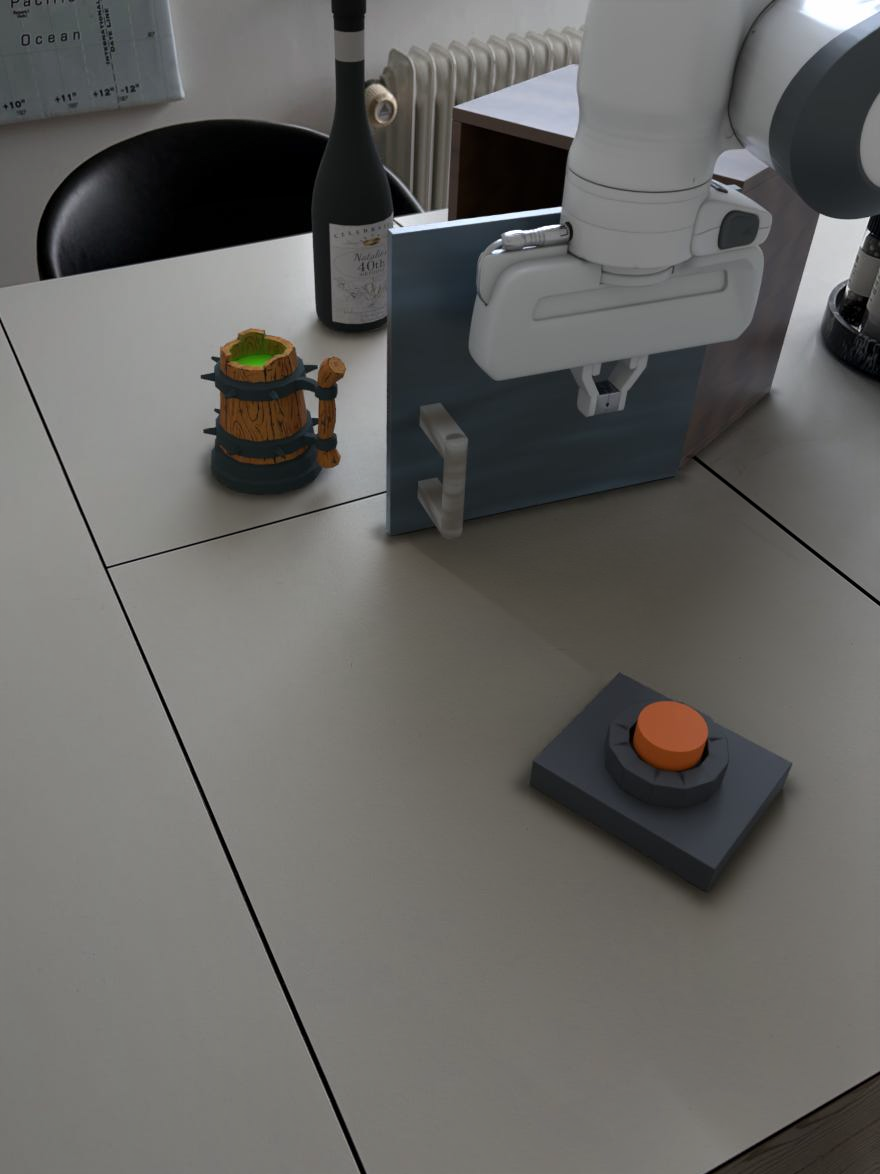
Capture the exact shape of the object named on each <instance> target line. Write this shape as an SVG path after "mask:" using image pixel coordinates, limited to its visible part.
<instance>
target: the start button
mask: <svg viewBox="0 0 880 1174" xmlns="http://www.w3.org/2000/svg"><path fill="white" fill-rule="evenodd" d="M677 702H678V701H677ZM677 702H672V701H661V702H655V703H652V704H650V705H648V706H647V707H645V708H644V709H643V710H642V711H641V713H640V715H639V717H638V721H637V725H636V729H635V733H634V737H633V745H634V748H635V750H636V752H637V754H638V755H639V757H640V758H641V759H642V760H643V761H645V762H646V763H647V764H649V765H651V766H653V767H655V768H657V769H660V770H665V771H672V772H679V771H684V770H687V769H690V768H692V767H693V766H695V765H696V764H697V763H698V762H699V760H700V758H701V756H702V753H703V750H704V746H705V743H706V740H707V737H708V727H707V724H706V722H705V720H704V719H703V717H702V716H701V715H700V714H699V713H698V712H696V711H695V710H694V709H695V708H694V709H692V708H690V707H688V706H686V705H684V704H681V703H677Z"/></svg>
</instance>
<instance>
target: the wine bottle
mask: <svg viewBox="0 0 880 1174" xmlns="http://www.w3.org/2000/svg"><path fill="white" fill-rule="evenodd" d="M330 1H331V3H330V9H331V14H332V19H333V40H334V41H333V43H334V46H333V47H334V73H335V75H334V76H335V77H334V78H335V106H334V115H333V120H332V126H331V129H330V132H329V136H328V138H327V139H328V140H327V143H326V147H325V148H324V152H323V154H322V157H321V160H320V164H319V166H318V170H317V172H316V177H315V180H314V185H313V190H312V199H311V209H310V210H311V211H310V213H311V214H310V215H311V237H312V256H313V257H312V258H313V279H314V280H313V281H314V302H315V312H316V316H317V319H318V321H320V322H321V323H322V324H323V326H325V327H327V328H328V329H330V330H333V331H336V332H339V333H345V334H362V333H363V334H364V333H367V332H368V333H370V332H372V331H375V330H379V329H380V328H382V327H383V326H385V325H386V324H387V230H388V229H392V228H394V205H393V204H394V203H393V197H392V191H391V186H390V182H389V179H388V175H387V172H386V170H385V167H384V164H383V161H382V159H381V156H380V153H379V151H378V147H377V145H376V142H375V138H374V137H373V133H372V130H371V126H370V123H369V118H368V112H367V106H366V85H365V84H366V81H365V80H366V79H365V77H366V74H365V73H366V72H365V71H366V68H365V66H366V65H365V64H366V61H365V56H366V55H365V53H366V52H365V44H366V42H365V40H366V39H365V28H366V27H365V23H366V22H365V19H366V15H365V14H367V0H330Z"/></svg>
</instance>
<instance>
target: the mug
mask: <svg viewBox="0 0 880 1174" xmlns="http://www.w3.org/2000/svg"><path fill="white" fill-rule="evenodd" d="M210 360H212V361H213V362H215V365H214V366H213V372H210V373H204V374H200V380H205V381H210V382H214V387H215V388H216V389H217V390H218V391H219V408H216V407H215V408H214V409H213V412H214V413H216V414H218V415H217V417H216V418H215V426H213V427H209V428H204V429H202V433H203V434H207V435H212V436H215V439H214V447H213V448H212V449H211V452H210V453H211V455H210V466H211V472H212V473H213V475H214V476H215V478H216V479H217V481H218V482H219V483H220V484H222V485H224V486H226V487H228V488H230V489H232V490H233V491H236V492H239V493H241V492H242V493H246V494H251V495H252V494H253V495H256V496H257V495H279V494H283V493H287V492H291V491H293V490H297V489H300V488H302V487H303V486H305V485H308V483H310V482H312V481H313V480H315V479H316V478H317V476H319V473H320V472H321V470H322V469H330V468H335V467H337V466H339V464H340V462H341V459H342V456H341V454H340V452H339V450H338V449H337V447H338V443H339V442H338V436H337V433H335V428H336V423H337V405H336V403H337V402H336V399H337V397H338V393H339V390H338V389H339V388H338V387H339V386H338V382H339V381H340V380H342V379H344V377H345V375H346V371H347V367H346V364H345V362H344V361H343V360H342V359H341V358H339V357H337V356H334V355H333V356H329V357H325V358H324V359H323V360H322V362H321V363H320V366H319V365H318V364H305V363H304V360H303V359H302V358H301V357H300V356H299V355H298V354H297V350H296V346H295V345H294V344H293V343H292V342H291V341H290V340H288V339H287V338H282V337H281V336H277V335H270V334H266V331H265V329H259V328H253V327H252V328H251V327H250V328H248V329H245V330H243V331H240V332H238V333H237V338H235V339H232V340H231V341H228V342H226V343H225V344H224V345H220V346H219V356H214V355H211V357H210ZM316 370H318V372H317V380H315V379H314V378H311V377H307V374H308V373H312V372H313V371H316ZM304 391H308V392H311V393H313V394H314V397H315V398H316V399H318V406H317V407H318V411H317V417H312V414H311V411H310V410H309V409H308V408H307V405H306V399H305V395H304ZM316 426H317V433H315V428H314V427H316Z"/></svg>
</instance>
